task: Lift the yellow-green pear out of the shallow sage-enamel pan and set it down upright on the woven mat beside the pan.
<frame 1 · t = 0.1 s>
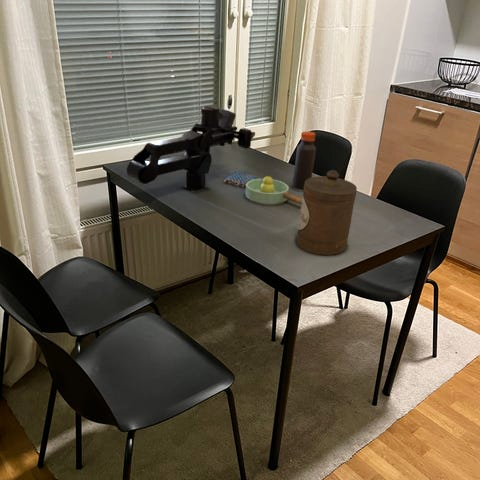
hand: (245, 130, 184), 17 cm above the table, tool horizontal, fingers open, 9 cm apart
pear: (266, 195, 175), point 1 cm above the table, touching pan
pan: (266, 197, 175), on the table
woven mat: (241, 183, 186), on the table
bottle: (300, 188, 185), on the table
wooden container: (320, 244, 146), on the table
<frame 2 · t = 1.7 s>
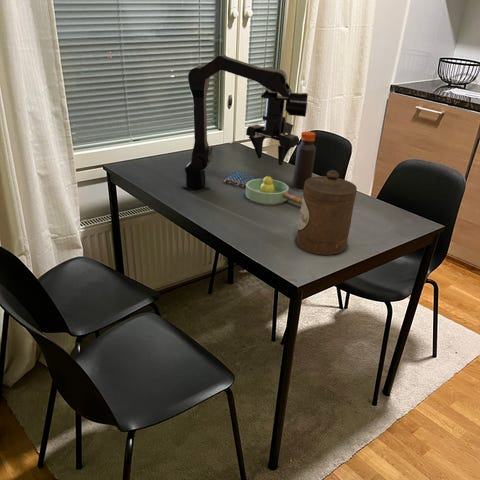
hand: (269, 161, 168), 13 cm above the table, tool pointing down, fingers open, 9 cm apart
nothing on the table moved.
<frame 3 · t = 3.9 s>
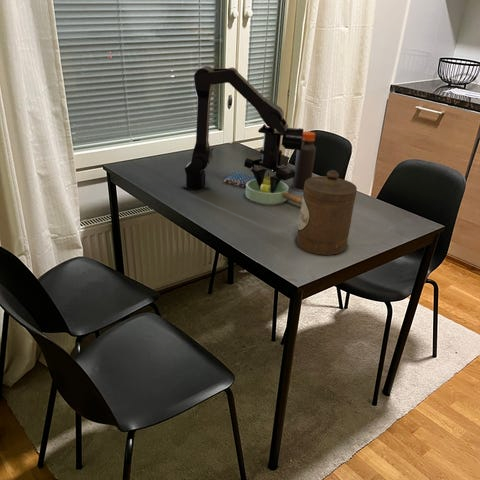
hand: (266, 191, 174), 2 cm above the table, tool pointing down, fingers closed on pear, 5 cm apart
pear: (266, 195, 175), point 1 cm above the table, touching gripper, pan
everything else where it was.
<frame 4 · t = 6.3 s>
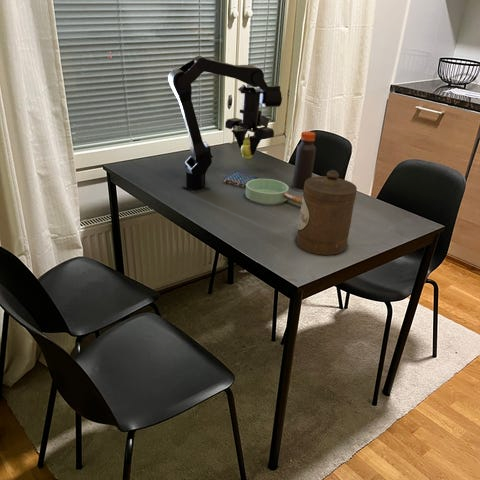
hand: (247, 153, 177), 12 cm above the table, tool pointing down, fingers closed on pear, 5 cm apart
pear: (247, 156, 178), point 10 cm above the table, touching gripper
everything else where it was.
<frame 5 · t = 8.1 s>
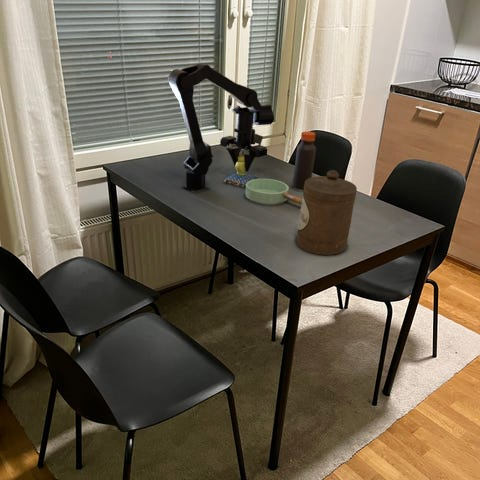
hand: (241, 169, 183), 5 cm above the table, tool pointing down, fingers closed on pear, 5 cm apart
pear: (241, 173, 184), point 4 cm above the table, touching gripper
everything else where it was.
when the fingers open (3 cm above the table, at t = 9.0 s): pear stays where it is, resting on woven mat.
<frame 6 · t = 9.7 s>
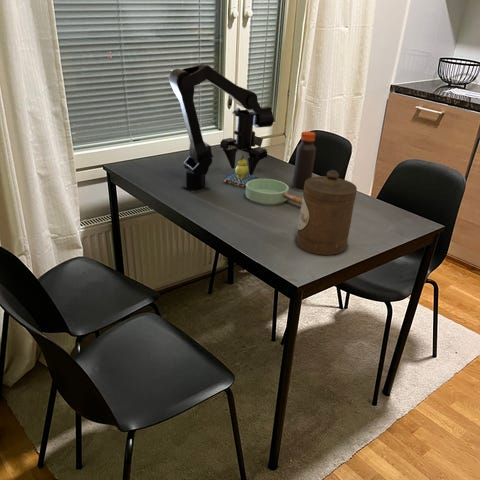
hand: (241, 171, 184), 4 cm above the table, tool pointing down, fingers open, 9 cm apart
pear: (241, 177, 185), point 2 cm above the table, touching woven mat
woven mat: (241, 183, 186), on the table, touching pear
everything else where it was.
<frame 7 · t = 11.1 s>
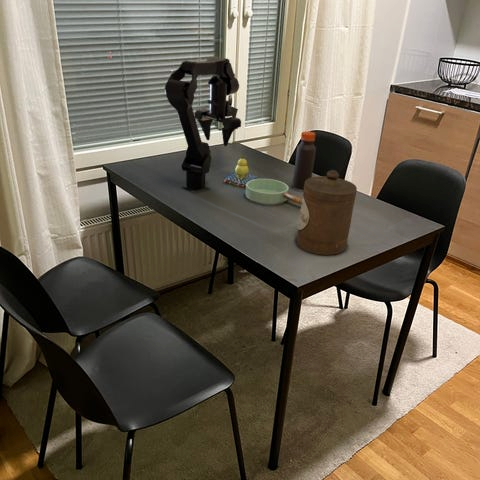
hand: (216, 143, 181), 13 cm above the table, tool pointing down, fingers open, 9 cm apart
nothing on the table moved.
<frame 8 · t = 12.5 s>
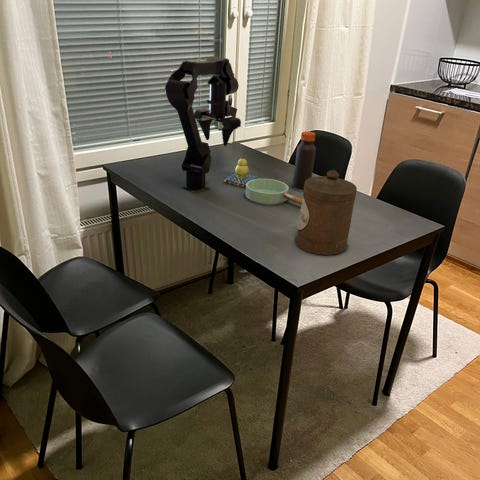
hand: (216, 142, 181), 13 cm above the table, tool pointing down, fingers open, 9 cm apart
nothing on the table moved.
at the end: pear inside the target area on the woven mat (0.0 cm from its centre), point 2.2 cm above the woven mat's base; pear tilted 0°; the gripper is holding nothing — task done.
